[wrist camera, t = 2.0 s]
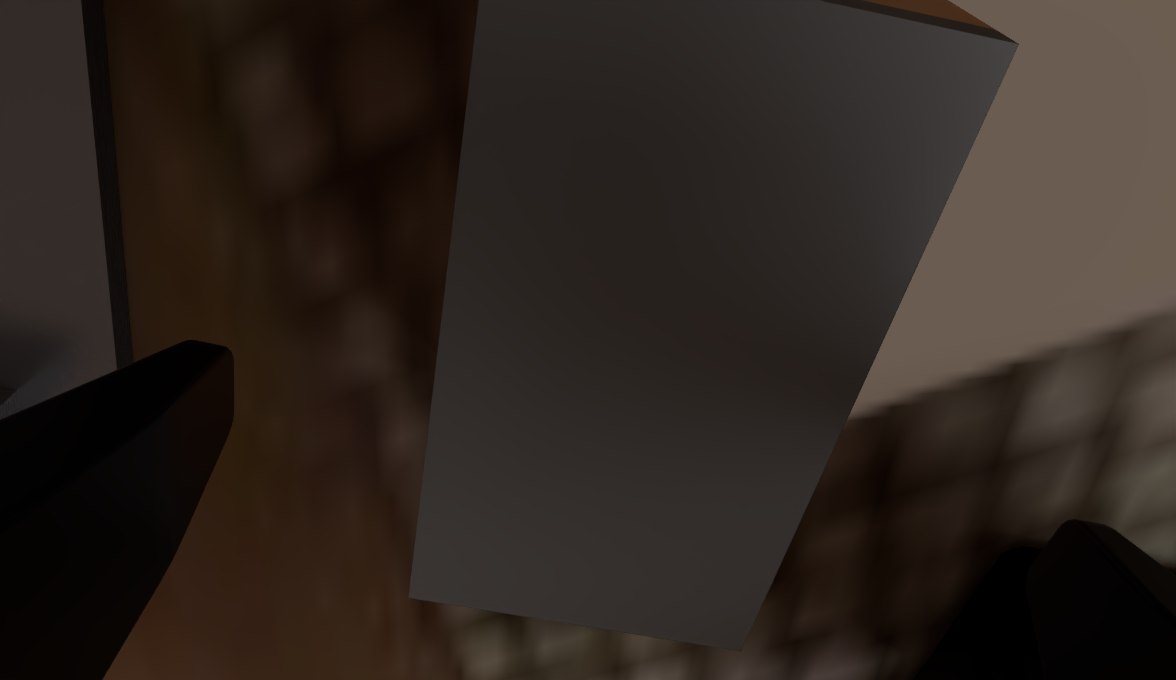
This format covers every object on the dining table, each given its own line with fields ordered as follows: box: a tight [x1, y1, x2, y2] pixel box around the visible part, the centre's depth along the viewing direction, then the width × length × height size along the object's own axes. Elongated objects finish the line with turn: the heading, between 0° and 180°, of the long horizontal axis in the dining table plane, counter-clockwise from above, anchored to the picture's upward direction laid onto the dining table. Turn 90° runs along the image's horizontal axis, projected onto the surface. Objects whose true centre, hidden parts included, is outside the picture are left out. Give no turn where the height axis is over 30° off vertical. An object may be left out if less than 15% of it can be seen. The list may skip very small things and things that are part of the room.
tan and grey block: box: [409, 0, 1019, 651], centre depth 12 cm, size 5×9×6 cm, turn 169°
